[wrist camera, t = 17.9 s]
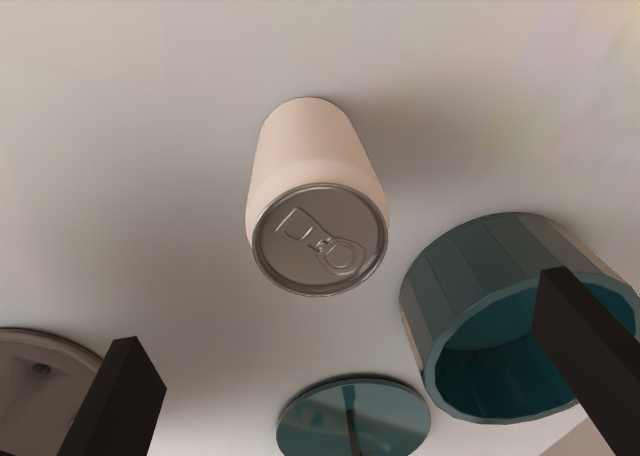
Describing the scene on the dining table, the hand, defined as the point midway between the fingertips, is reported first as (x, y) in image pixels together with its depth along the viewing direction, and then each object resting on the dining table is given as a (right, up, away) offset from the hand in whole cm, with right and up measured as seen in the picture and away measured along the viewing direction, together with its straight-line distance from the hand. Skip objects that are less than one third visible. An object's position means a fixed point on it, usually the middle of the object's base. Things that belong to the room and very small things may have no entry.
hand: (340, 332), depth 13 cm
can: (-2, +9, +13) cm, 16 cm away
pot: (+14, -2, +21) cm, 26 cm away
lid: (+3, -18, +30) cm, 35 cm away
